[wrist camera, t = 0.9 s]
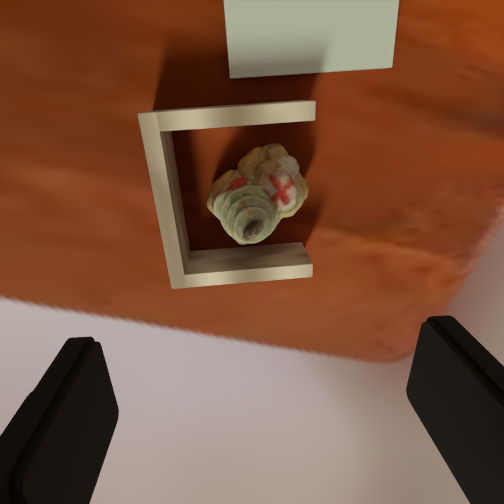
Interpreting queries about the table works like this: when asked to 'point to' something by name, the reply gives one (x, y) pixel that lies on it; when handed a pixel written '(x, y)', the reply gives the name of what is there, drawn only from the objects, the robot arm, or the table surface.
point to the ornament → (258, 193)
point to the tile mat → (309, 36)
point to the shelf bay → (171, 207)
